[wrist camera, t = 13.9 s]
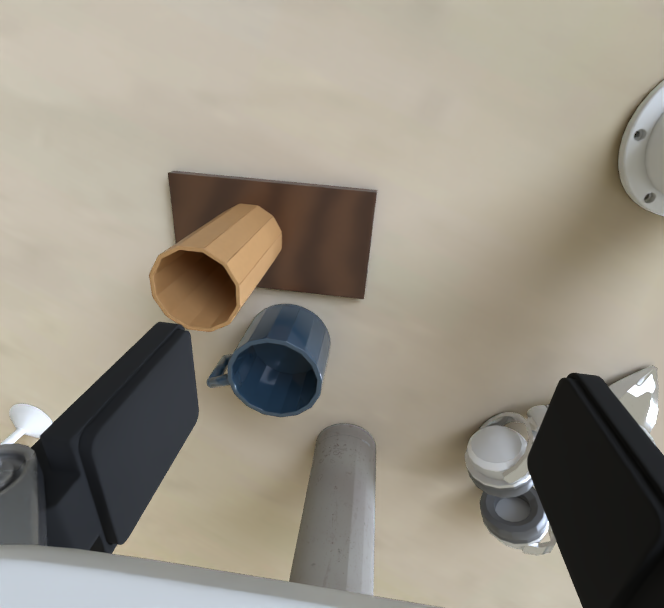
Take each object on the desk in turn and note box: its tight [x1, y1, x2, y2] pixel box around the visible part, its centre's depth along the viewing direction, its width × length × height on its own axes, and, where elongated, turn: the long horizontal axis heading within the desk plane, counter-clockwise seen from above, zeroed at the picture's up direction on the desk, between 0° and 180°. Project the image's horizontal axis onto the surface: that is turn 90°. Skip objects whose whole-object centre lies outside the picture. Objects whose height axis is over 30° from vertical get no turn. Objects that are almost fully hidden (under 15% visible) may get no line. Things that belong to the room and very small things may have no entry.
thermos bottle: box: [289, 424, 376, 596], centre depth 40 cm, size 8×8×28 cm
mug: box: [207, 304, 330, 417], centre depth 43 cm, size 13×10×8 cm
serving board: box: [168, 171, 377, 299], centre depth 40 cm, size 20×11×1 cm, turn 86°
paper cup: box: [149, 204, 282, 332], centre depth 34 cm, size 7×7×13 cm
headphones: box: [465, 365, 659, 555], centre depth 46 cm, size 22×8×22 cm
